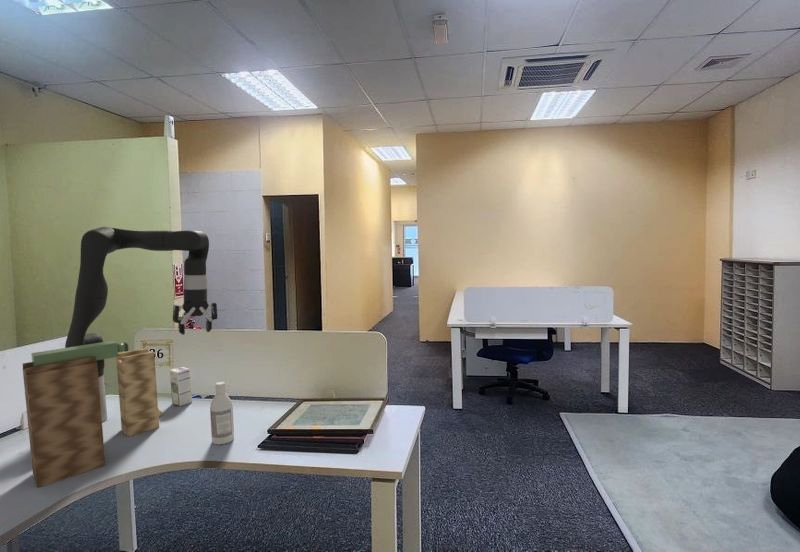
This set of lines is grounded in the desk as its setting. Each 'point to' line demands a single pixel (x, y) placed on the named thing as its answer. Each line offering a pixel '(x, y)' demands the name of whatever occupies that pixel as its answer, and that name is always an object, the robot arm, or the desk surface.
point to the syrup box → (180, 386)
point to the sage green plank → (79, 353)
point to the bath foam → (221, 416)
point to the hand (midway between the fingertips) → (195, 332)
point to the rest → (137, 391)
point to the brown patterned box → (64, 419)
